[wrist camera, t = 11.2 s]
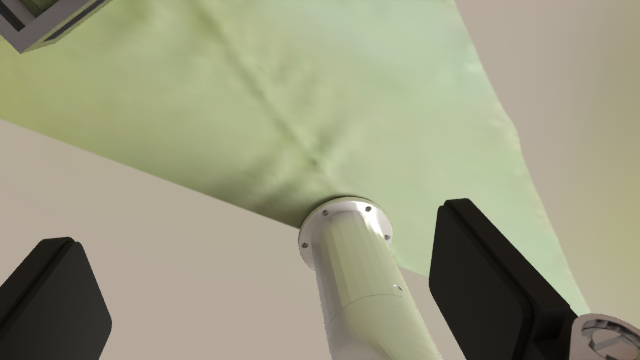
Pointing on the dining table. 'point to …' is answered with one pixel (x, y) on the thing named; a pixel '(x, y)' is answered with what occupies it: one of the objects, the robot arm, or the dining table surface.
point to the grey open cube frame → (42, 21)
